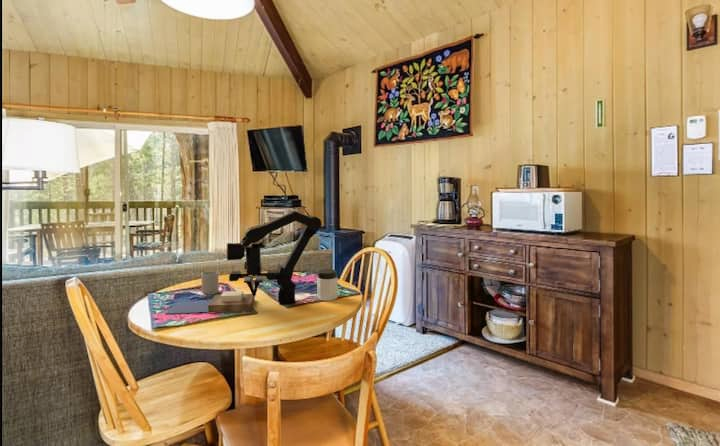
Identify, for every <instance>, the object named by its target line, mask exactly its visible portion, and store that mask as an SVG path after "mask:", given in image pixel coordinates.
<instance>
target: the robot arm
mask: <svg viewBox="0 0 720 446" xmlns="http://www.w3.org/2000/svg"><path fill="white" fill-rule="evenodd" d="M294 222H297V223H300V224H302V229H301V233H300V235H299V237H298V239H297V241H296V242H295V244H294V246H293V247H292V249H291V252H290V253H289V255H288V257H287V259H285V262H284V263H283V264H282V265H281V264H278V265H277V268H276V269H274V270H272V269H271V270H270V269H269V270H267V272H263V270H262V268H263V266H262V262H261V260H262V259H261V249H264V248H266V245H265V244H264V243H263V242H262V241H261V240H263V239H264V238H265V237H266V236H268V235H269V234H271V233H273V232H275V231H277V230H279V229H281V228H283V227H286V226H288V225H290V224H292V223H294ZM321 227H322V220H321V219H320V218H319V217H317V216H315V215H313V214H312V215H305V214H303V213H300V212H298V211H296V210H291V211H290V212H288V213H286V214H284V215H282V216H279V217H278V218H276V219H273V220H271V221H269V222H266V223H263V224H259V225H255V226H251V227H248V228H247V229H245V231H244V236H243V238H242V239H241V241H240V242H235V243H234V242H233V243H232V242H228V243H226V261H238V260H241V261H242V259H243V258H245V262H244V264H243V265H244V268H243V269H244V270H246V271H245V272H246V273H242V271H241V270H237V271H236V270H235V271H234V270H232V271H231V272H230V273H229V276H228V281H229V282H237V281H239V280H240V279H244V280H243V283H244V284H246V285H247V287H248V288H249V290H250V292H251V294H252V295H253V296H255V297H256V295H257V293H258V289H259V285H260V283H263V282H264V278H266V279H267V280H268V281H275V282H276V283H277V285H278V286H279V290H278V292H277V297H278V301H277V302H278V303H279V305H295V304H296V287H297V284H296V283H295V282H294V281H293V280H292V278H293V274H294V270H295V266H296V265H297V263H298V261H299V260H300V258H301V257H302V254H303V253H304V251H305V249H306V247H307V245H308V243H309V241H310V240H311V238H312V237H314V236H315V235H316V234H317V232H318V231H320V229H321ZM254 279H255V280H254Z"/></svg>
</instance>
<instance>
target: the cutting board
mask: <svg viewBox="0 0 720 446" xmlns="http://www.w3.org/2000/svg"><path fill="white" fill-rule="evenodd" d="M221 295H222V294H215V295H214V296H213V298H212V299H211V300H210V301H211V302H210V304H209V305H208V312H218V313H241V312H242V311H243V312H244V313H245V312H252V309H253V305H254V304H255V297H256V295H255V296H253V295H252V293H243V299H242V301H231V302H221ZM238 311H239V312H238ZM240 311H241V312H240Z"/></svg>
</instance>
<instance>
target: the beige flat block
mask: <svg viewBox="0 0 720 446" xmlns="http://www.w3.org/2000/svg"><path fill="white" fill-rule="evenodd" d="M243 294H244V291H243V290H241V291H240V290H239V291H237V290H236V291H235V290H234V291H233V290H232V291H231V290H230V291H222V293H221V294H220V295H221V302H231V301H242V299H243Z"/></svg>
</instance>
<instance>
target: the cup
mask: <svg viewBox="0 0 720 446" xmlns="http://www.w3.org/2000/svg"><path fill="white" fill-rule="evenodd" d="M200 274H201V275H200V277H201V293H202V294H203V293H204V294H203V295H214V294H213V293H215V294H218V293H219V292H220V291H219V290H220V289H219V288H220V286H219V282H220V281H219V271H217V270H216V271H215V270H209V271H202V272H201V273H200Z"/></svg>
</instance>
